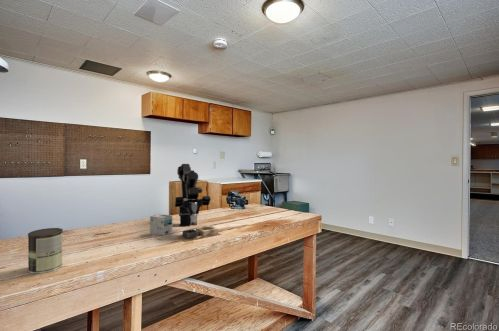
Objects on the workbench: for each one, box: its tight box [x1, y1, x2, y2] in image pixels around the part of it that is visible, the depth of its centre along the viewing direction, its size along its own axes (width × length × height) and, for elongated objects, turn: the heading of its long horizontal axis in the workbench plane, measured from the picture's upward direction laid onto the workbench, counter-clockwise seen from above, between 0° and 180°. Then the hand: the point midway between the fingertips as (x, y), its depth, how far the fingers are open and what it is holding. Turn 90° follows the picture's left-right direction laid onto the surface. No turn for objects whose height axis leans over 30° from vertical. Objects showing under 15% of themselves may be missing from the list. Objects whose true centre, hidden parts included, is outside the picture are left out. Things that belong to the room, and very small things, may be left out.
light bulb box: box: [149, 213, 173, 236], centre depth 142 cm, size 11×7×11 cm, turn 65°
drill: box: [190, 202, 198, 226], centre depth 135 cm, size 3×3×12 cm
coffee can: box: [27, 227, 64, 275], centre depth 97 cm, size 10×10×14 cm
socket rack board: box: [174, 225, 223, 243], centre depth 138 cm, size 22×12×4 cm, turn 130°
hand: (194, 214), depth 134 cm, fingers closed on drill, 3 cm apart
